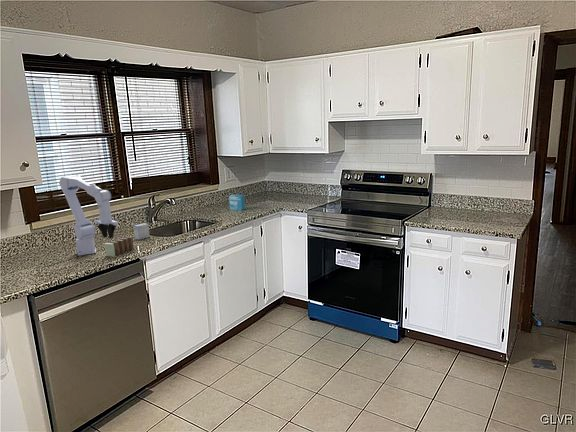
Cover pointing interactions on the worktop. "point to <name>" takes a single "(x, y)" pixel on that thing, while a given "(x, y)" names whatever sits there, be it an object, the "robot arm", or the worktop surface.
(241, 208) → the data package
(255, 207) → the worktop surface
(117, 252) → the tile
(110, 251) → the tile
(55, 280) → the worktop surface
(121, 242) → the tile
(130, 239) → the head tile
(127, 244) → the tile
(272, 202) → the worktop surface
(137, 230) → the medicine box
